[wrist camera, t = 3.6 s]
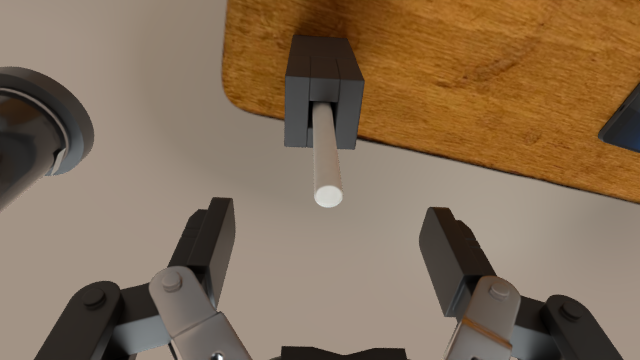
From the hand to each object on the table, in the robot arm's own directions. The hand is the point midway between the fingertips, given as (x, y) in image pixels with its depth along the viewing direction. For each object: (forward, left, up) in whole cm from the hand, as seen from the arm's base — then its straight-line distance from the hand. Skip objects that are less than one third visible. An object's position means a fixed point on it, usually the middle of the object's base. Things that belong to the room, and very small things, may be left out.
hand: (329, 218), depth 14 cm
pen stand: (0, 0, -23) cm, 23 cm away
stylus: (0, 0, -16) cm, 15 cm away
